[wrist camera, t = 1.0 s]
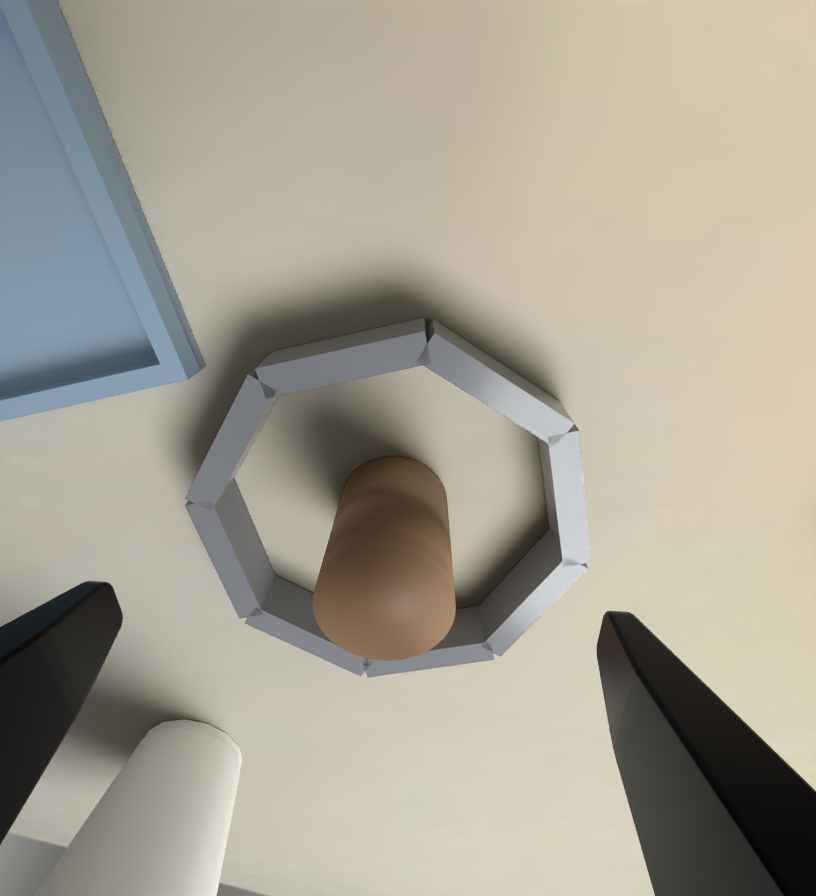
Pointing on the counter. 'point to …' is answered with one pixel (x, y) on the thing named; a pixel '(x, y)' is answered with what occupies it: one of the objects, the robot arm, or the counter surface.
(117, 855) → the foam cup
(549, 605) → the holder ring
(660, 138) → the counter surface
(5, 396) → the tray
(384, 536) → the walnut cylinder
